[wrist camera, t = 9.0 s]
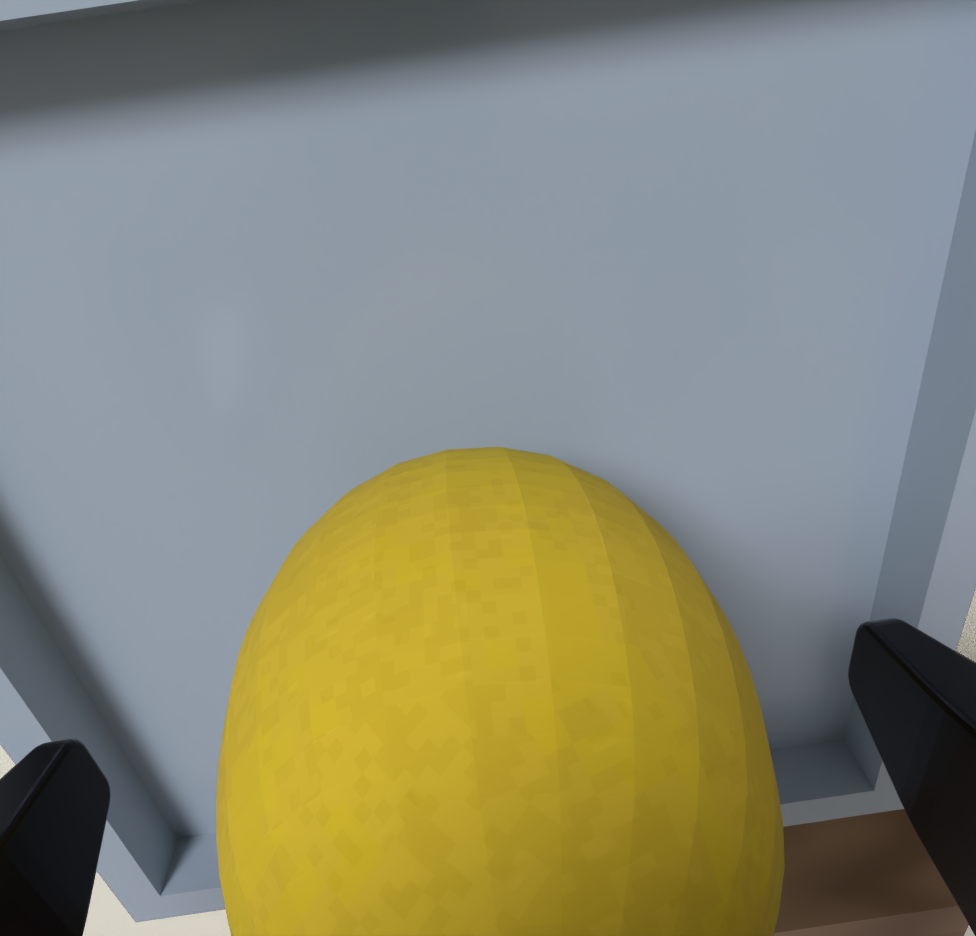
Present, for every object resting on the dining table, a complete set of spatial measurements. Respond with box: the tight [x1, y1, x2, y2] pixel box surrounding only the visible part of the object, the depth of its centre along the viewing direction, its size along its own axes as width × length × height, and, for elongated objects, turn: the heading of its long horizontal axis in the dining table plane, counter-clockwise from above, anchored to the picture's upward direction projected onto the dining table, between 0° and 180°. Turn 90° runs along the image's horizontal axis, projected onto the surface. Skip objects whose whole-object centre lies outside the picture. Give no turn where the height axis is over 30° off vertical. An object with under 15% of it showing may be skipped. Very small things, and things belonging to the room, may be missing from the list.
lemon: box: [216, 447, 785, 936], centre depth 8 cm, size 6×6×8 cm
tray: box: [0, 0, 976, 922], centre depth 11 cm, size 16×16×2 cm
